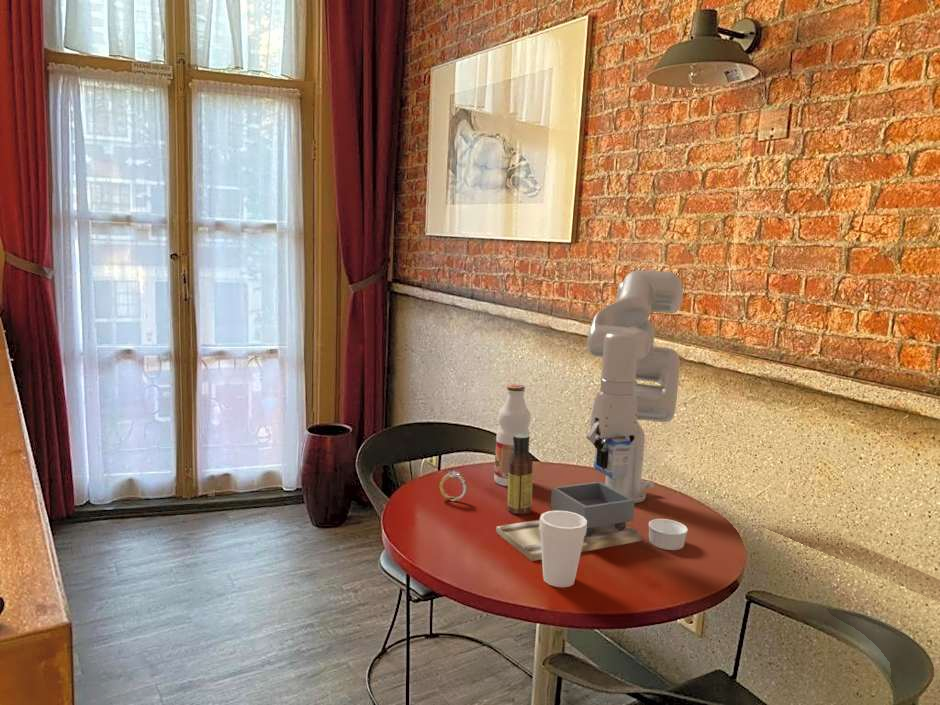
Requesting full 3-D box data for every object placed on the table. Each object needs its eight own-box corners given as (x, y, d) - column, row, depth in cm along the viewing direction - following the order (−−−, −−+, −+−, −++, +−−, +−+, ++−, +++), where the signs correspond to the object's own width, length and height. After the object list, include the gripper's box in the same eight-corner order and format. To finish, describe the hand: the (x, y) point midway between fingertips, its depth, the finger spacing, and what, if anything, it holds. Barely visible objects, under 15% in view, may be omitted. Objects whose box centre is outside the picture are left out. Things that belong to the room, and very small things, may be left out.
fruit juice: (513, 490, 196) (519, 390, 192) (487, 481, 202) (492, 384, 198) (533, 482, 203) (539, 386, 199) (507, 474, 209) (513, 381, 205)
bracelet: (466, 500, 186) (468, 471, 185) (463, 504, 183) (465, 475, 182) (441, 496, 188) (443, 467, 187) (437, 500, 185) (439, 471, 184)
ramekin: (690, 542, 167) (692, 524, 166) (680, 555, 160) (682, 537, 159) (653, 532, 172) (654, 515, 171) (642, 545, 164) (643, 527, 163)
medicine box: (593, 467, 165) (595, 431, 163) (609, 466, 166) (612, 430, 165) (612, 479, 157) (615, 442, 156) (628, 477, 159) (632, 440, 158)
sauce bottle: (531, 507, 184) (536, 433, 181) (531, 516, 177) (536, 439, 174) (506, 505, 184) (510, 431, 181) (505, 514, 178) (509, 437, 175)
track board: (599, 516, 180) (600, 508, 180) (641, 541, 166) (642, 532, 166) (496, 532, 167) (496, 523, 166) (531, 561, 153) (532, 551, 152)
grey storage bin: (596, 509, 178) (599, 481, 177) (632, 530, 166) (634, 500, 165) (549, 516, 171) (551, 487, 170) (582, 539, 160) (585, 507, 158)
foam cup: (579, 571, 149) (584, 512, 147) (585, 592, 140) (590, 530, 138) (534, 568, 149) (538, 509, 147) (536, 589, 140) (541, 526, 138)
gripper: (635, 381, 165) (629, 456, 169) (576, 386, 158) (570, 464, 161) (658, 388, 159) (650, 466, 162) (597, 394, 151) (591, 475, 154)
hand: (611, 464), depth 162 cm, fingers closed on medicine box, 4 cm apart
